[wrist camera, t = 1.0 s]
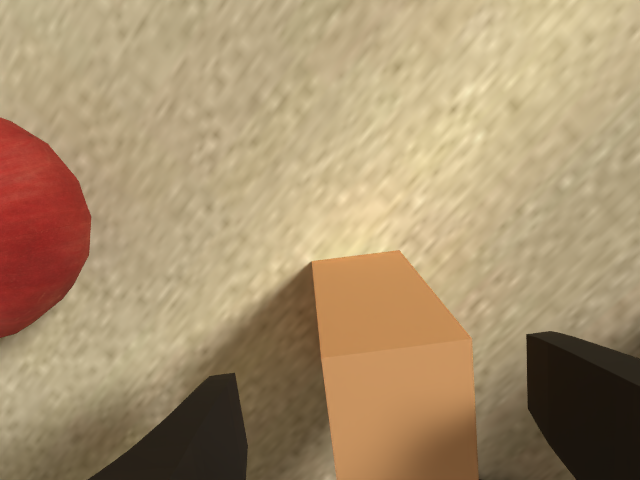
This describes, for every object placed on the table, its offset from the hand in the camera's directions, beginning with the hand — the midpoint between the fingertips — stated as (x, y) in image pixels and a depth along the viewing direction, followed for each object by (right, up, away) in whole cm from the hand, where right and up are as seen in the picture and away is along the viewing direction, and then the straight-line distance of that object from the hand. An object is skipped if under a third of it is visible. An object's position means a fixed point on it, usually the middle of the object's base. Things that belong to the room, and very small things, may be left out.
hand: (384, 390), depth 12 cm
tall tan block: (0, +1, +5) cm, 5 cm away
